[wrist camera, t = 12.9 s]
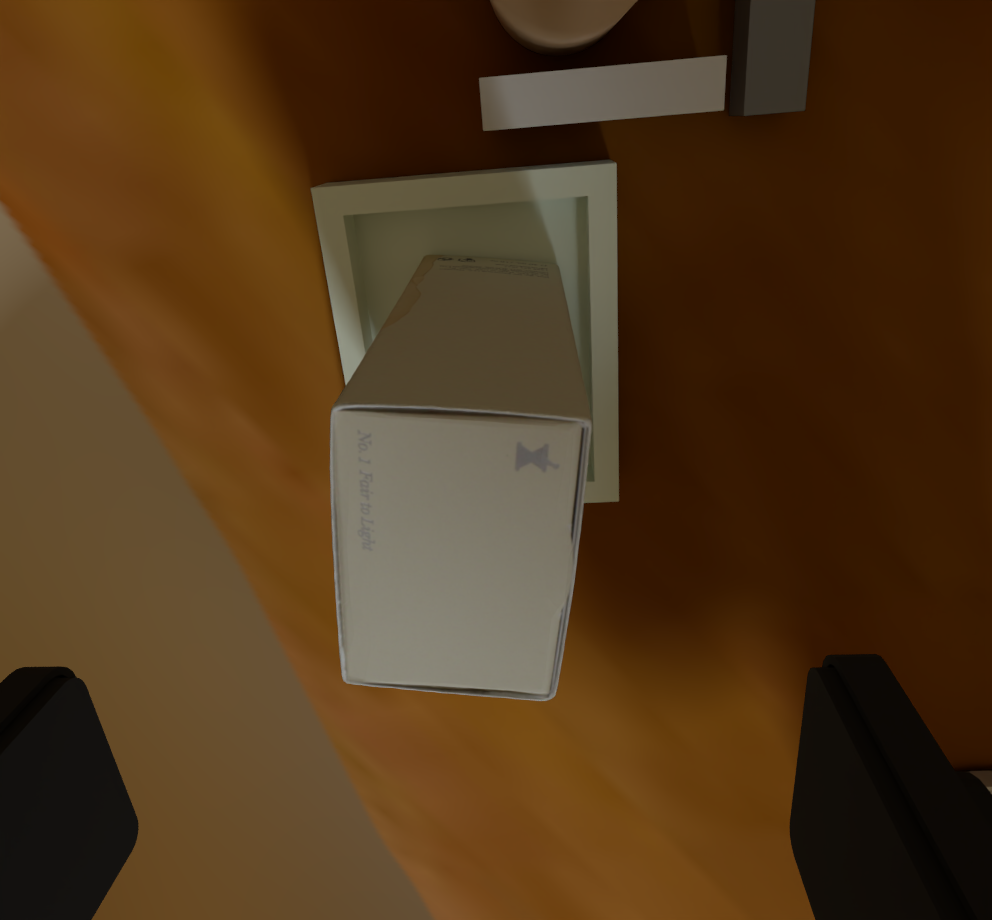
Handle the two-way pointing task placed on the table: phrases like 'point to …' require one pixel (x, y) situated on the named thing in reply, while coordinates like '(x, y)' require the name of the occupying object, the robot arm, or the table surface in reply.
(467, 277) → the skincare box
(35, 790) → the robot arm
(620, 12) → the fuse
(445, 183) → the tray
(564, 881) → the table surface
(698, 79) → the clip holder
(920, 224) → the table surface
